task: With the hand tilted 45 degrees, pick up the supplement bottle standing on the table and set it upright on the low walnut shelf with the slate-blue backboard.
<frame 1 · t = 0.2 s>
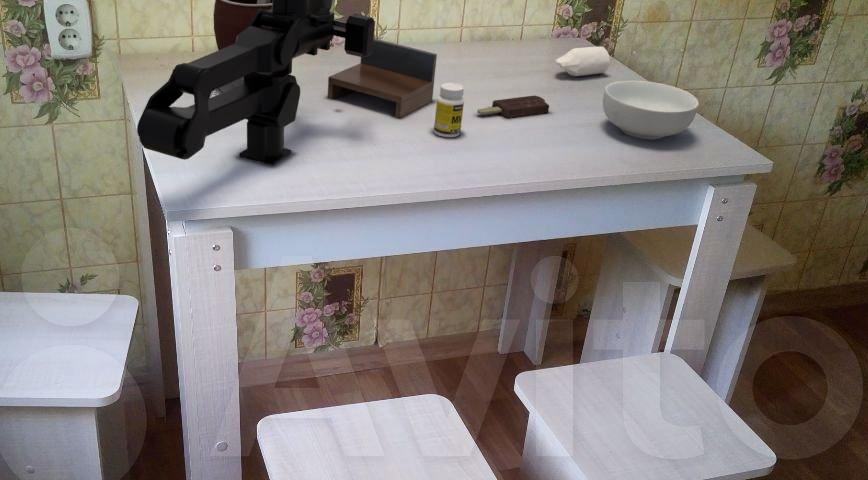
hand: (346, 18, 171), 17 cm above the table, tool horizontal, fingers open, 9 cm apart
cereal bowl: (642, 132, 181), on the table
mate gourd: (254, 87, 188), on the table
ice cream bar: (511, 113, 185), on the table
white tapered cylinder: (575, 76, 206), on the table
shelf: (378, 100, 186), on the table
supplement bottle: (446, 134, 175), on the table
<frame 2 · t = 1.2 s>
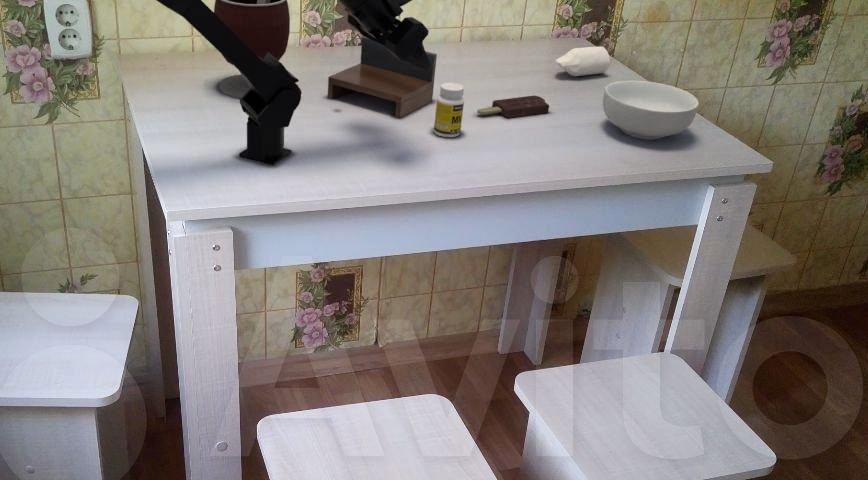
hand: (415, 59, 164), 14 cm above the table, tool tilted 45°, fingers open, 9 cm apart
nothing on the table moved.
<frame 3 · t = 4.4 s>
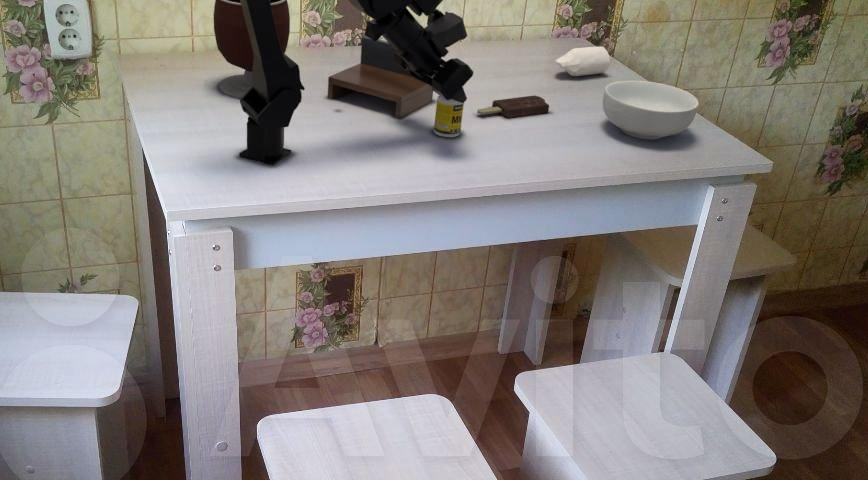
hand: (457, 96, 171), 7 cm above the table, tool tilted 45°, fingers closed on supplement bottle, 4 cm apart
supplement bottle: (446, 134, 175), on the table, touching gripper
everything else where it was.
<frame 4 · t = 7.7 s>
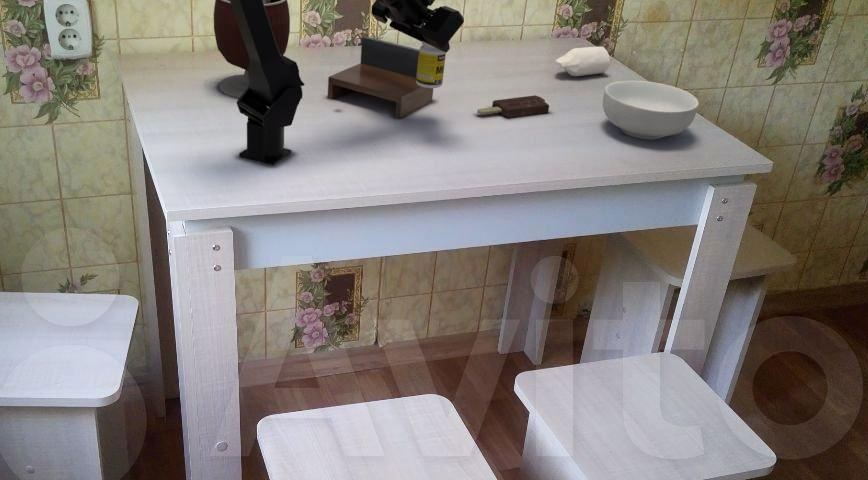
hand: (438, 46, 172), 13 cm above the table, tool tilted 45°, fingers closed on supplement bottle, 4 cm apart
supplement bottle: (428, 85, 175), point 7 cm above the table, touching gripper
everything else where it was.
when the fingers open (11 cm above the table, at t = 11.1 s): supplement bottle stays where it is, resting on shelf.
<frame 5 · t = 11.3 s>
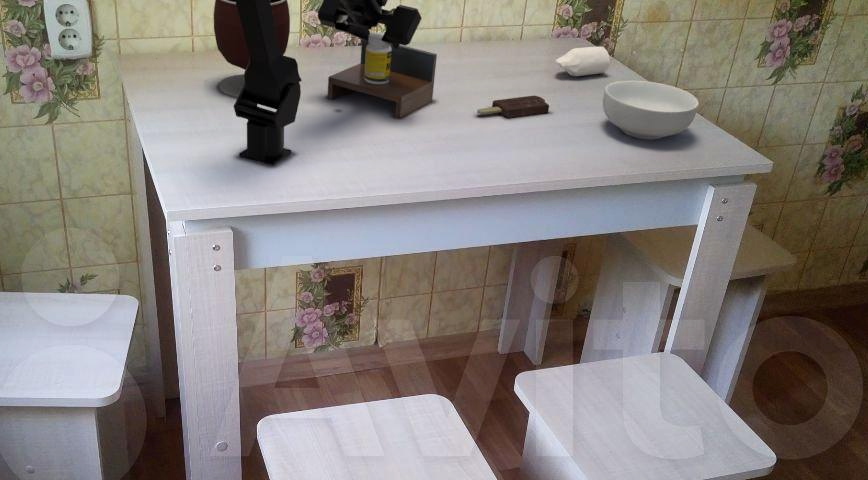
hand: (383, 43, 180), 11 cm above the table, tool tilted 45°, fingers open, 6 cm apart
supplement bottle: (376, 81, 183), point 4 cm above the table, touching shelf
everything else where it was.
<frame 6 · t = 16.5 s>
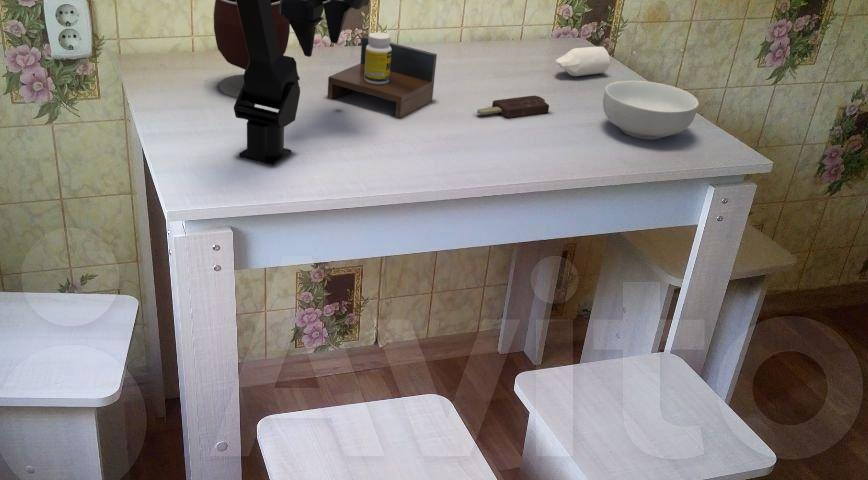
hand: (321, 49, 167), 13 cm above the table, tool pointing down, fingers open, 9 cm apart
nothing on the table moved.
at the end: supplement bottle inside the target area on the shelf (0.7 cm from its centre), point 3.8 cm above the shelf's base; supplement bottle tilted 0°; the gripper is holding nothing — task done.
